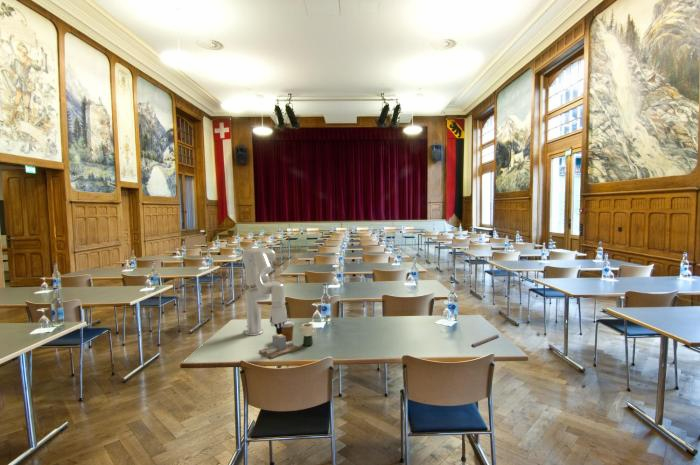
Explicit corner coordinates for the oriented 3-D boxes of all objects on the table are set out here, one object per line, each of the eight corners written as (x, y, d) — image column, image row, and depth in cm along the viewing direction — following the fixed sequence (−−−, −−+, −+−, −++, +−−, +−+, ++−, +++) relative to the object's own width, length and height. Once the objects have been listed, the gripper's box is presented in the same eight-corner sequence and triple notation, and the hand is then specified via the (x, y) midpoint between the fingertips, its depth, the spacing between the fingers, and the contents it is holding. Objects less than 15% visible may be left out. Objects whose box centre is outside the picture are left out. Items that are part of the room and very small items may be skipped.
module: (272, 348, 224) (272, 335, 223) (279, 345, 227) (279, 333, 227) (279, 351, 219) (278, 338, 218) (286, 348, 222) (285, 336, 222)
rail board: (259, 352, 221) (259, 347, 221) (286, 343, 235) (286, 338, 235) (271, 358, 211) (271, 353, 211) (299, 349, 225) (299, 344, 225)
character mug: (317, 343, 235) (317, 323, 234) (315, 347, 228) (314, 326, 227) (301, 342, 236) (300, 322, 235) (298, 346, 229) (297, 326, 228)
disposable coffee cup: (297, 338, 244) (296, 320, 243) (289, 343, 235) (289, 325, 234) (285, 336, 248) (284, 319, 247) (277, 341, 239) (276, 323, 238)
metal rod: (471, 346, 225) (471, 343, 225) (496, 336, 241) (496, 333, 241) (474, 347, 223) (474, 344, 223) (498, 337, 239) (498, 334, 239)
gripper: (285, 300, 229) (286, 329, 230) (264, 305, 219) (265, 335, 220) (291, 302, 224) (292, 332, 225) (270, 307, 213) (271, 338, 214)
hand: (279, 333), depth 222 cm, fingers closed
